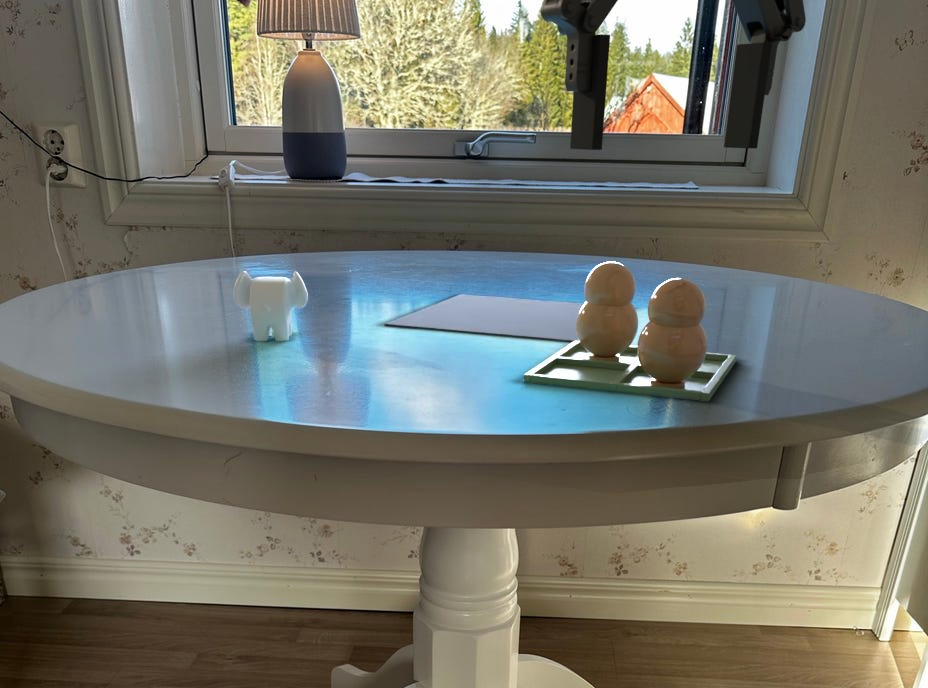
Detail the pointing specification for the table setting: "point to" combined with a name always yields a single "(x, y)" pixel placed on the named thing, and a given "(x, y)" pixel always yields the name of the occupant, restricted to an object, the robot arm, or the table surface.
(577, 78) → the robot arm
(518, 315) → the mat
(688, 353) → the tan snowman shaped figurine
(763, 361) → the table surface
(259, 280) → the elephant figurine
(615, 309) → the snowman figurine
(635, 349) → the green divided tray
